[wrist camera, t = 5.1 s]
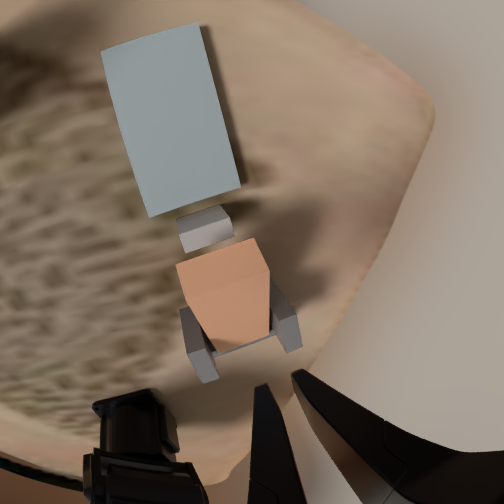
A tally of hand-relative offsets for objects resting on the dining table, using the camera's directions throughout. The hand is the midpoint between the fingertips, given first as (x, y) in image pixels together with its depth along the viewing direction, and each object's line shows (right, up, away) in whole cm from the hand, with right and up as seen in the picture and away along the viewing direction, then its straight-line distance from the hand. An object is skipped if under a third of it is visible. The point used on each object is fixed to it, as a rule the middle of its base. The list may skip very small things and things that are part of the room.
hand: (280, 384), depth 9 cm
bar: (-2, +2, +10) cm, 10 cm away
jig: (-3, +3, +13) cm, 13 cm away
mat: (-6, +12, +8) cm, 16 cm away
